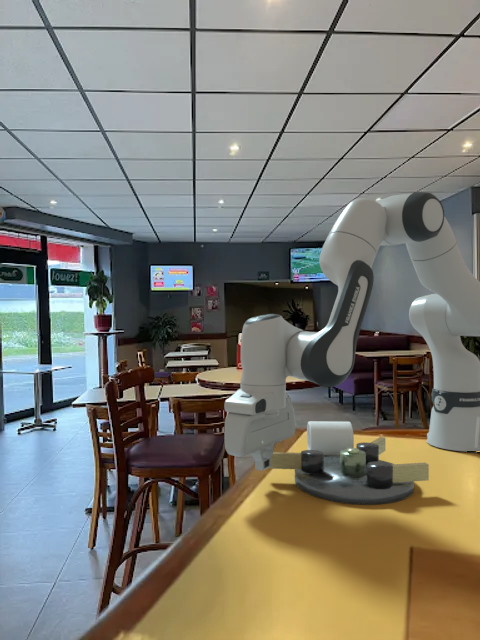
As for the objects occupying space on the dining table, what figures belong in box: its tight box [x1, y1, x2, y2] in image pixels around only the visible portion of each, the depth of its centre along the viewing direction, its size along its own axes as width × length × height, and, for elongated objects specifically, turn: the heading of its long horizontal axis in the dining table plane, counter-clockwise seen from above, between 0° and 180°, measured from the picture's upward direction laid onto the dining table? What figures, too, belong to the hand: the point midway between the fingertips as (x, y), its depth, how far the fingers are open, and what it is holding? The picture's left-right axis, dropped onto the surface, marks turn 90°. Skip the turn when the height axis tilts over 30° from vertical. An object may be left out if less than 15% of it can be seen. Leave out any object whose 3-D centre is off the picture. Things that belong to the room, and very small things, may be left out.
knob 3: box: [367, 461, 430, 488], centre depth 92 cm, size 12×5×3 cm, turn 100°
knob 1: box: [267, 449, 325, 474], centre depth 100 cm, size 12×5×3 cm, turn 85°
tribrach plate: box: [294, 447, 415, 506], centre depth 99 cm, size 23×23×7 cm
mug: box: [306, 420, 355, 457], centre depth 120 cm, size 12×10×8 cm
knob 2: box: [355, 436, 386, 464], centre depth 108 cm, size 12×5×3 cm, turn 145°
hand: (262, 468), depth 97 cm, fingers closed
